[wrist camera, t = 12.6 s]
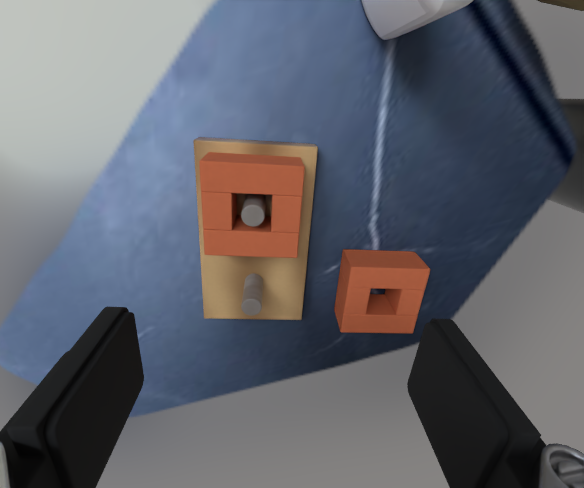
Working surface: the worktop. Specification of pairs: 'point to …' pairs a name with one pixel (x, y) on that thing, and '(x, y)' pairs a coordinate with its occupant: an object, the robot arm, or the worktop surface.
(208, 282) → the base board
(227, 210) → the pad
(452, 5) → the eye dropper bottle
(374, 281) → the orange square ring block
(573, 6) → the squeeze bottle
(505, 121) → the worktop surface
